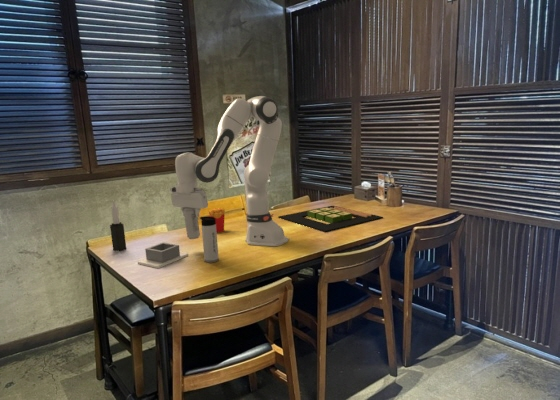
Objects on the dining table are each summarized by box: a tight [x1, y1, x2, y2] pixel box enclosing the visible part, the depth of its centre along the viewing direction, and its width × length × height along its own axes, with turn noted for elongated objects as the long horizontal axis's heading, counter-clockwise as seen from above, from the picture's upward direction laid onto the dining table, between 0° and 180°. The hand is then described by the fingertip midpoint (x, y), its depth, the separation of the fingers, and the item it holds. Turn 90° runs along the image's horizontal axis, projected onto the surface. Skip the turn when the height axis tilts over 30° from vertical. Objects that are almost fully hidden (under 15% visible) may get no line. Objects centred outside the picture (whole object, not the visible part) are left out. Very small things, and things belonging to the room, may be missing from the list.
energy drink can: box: [183, 207, 201, 240], centre depth 190 cm, size 6×6×15 cm
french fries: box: [208, 207, 226, 233], centre depth 225 cm, size 9×4×13 cm, turn 117°
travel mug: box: [199, 216, 220, 264], centre depth 177 cm, size 6×7×20 cm
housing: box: [137, 242, 189, 269], centre depth 182 cm, size 13×18×6 cm
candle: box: [109, 199, 127, 252], centre depth 199 cm, size 5×5×25 cm
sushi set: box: [277, 205, 384, 233], centre depth 245 cm, size 45×45×4 cm
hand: (191, 216), depth 190 cm, fingers closed on energy drink can, 6 cm apart
